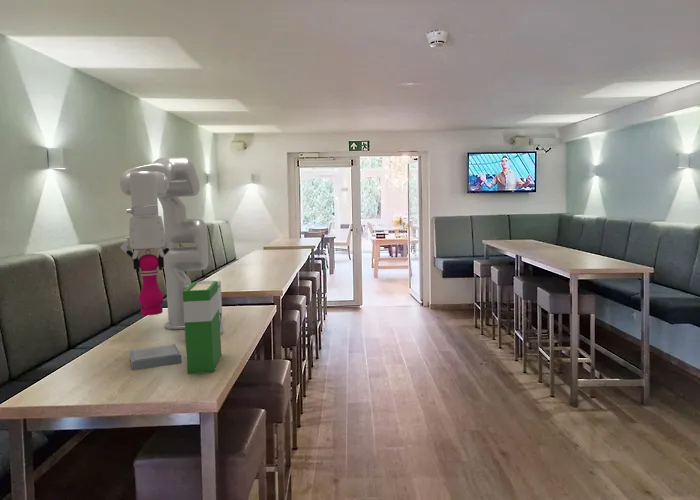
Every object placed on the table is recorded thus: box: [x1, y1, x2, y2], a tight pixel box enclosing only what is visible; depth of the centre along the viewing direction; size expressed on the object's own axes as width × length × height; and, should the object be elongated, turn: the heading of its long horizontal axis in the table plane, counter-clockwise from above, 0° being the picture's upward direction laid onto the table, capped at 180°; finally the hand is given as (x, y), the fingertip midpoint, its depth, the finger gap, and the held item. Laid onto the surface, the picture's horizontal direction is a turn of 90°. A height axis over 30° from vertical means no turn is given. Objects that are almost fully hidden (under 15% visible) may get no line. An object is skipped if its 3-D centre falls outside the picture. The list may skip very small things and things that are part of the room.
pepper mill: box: [138, 249, 164, 316], centre depth 168 cm, size 7×7×20 cm
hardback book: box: [183, 280, 222, 375], centre depth 165 cm, size 18×7×24 cm, turn 6°
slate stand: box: [129, 344, 183, 371], centre depth 171 cm, size 14×14×3 cm
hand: (149, 269), depth 168 cm, fingers closed on pepper mill, 6 cm apart
